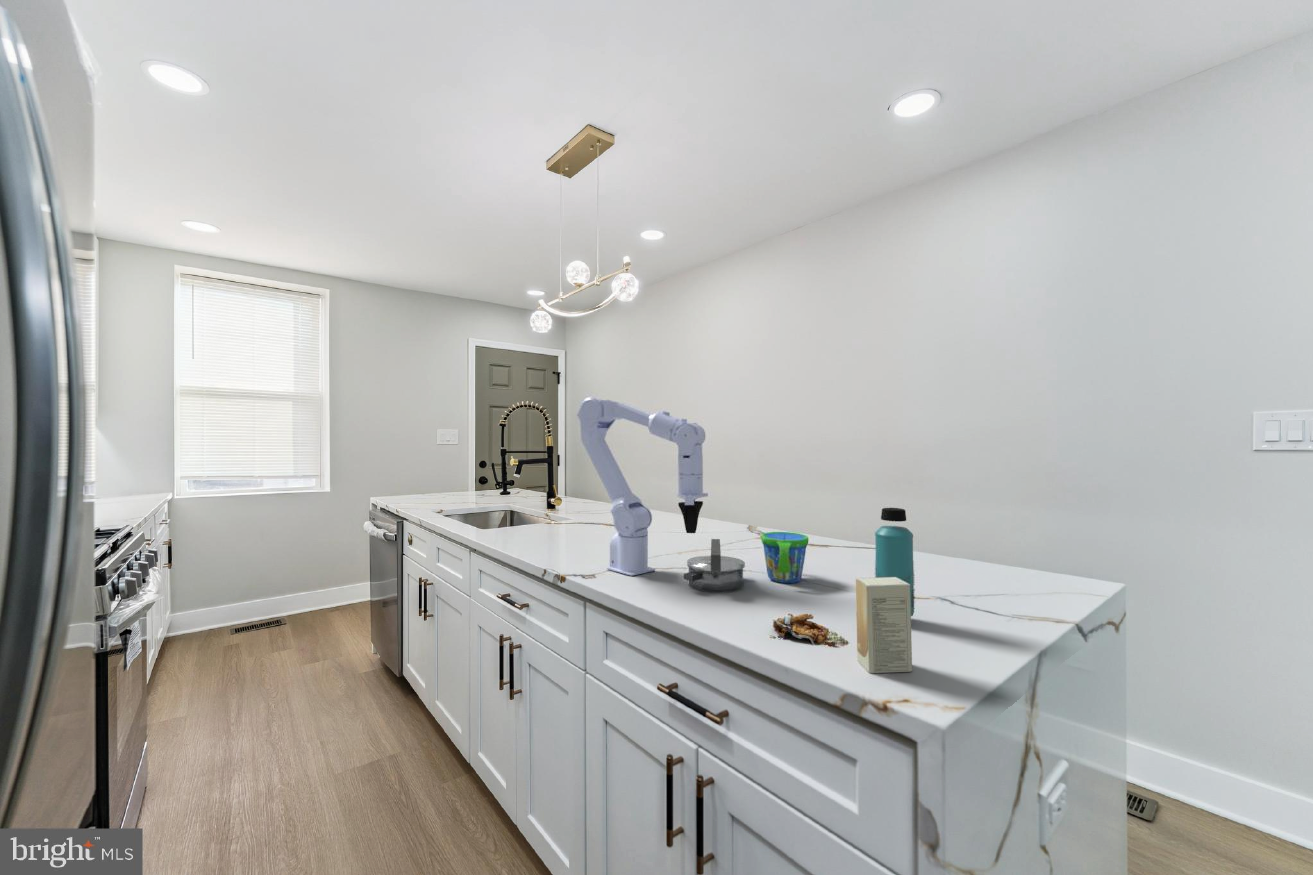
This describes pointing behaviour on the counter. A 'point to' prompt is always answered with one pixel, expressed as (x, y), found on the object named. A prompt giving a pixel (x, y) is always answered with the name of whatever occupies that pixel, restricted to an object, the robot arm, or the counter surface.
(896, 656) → the skincare box
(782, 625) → the brown lumpy piece
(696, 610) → the counter surface
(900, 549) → the beverage bottle
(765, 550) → the snack cup
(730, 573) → the pot
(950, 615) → the counter surface
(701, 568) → the lid
